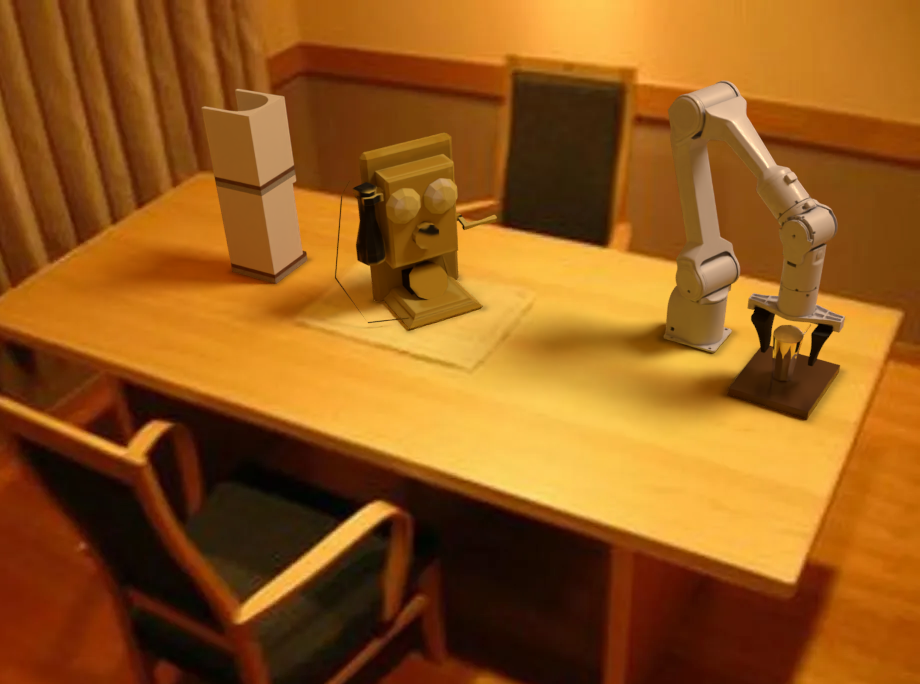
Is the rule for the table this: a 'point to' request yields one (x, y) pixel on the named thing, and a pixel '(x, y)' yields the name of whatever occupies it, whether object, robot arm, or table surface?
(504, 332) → the table surface
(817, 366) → the board
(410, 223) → the vintage telephone
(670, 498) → the table surface
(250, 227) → the scooped banded pillar
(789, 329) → the milkshake
